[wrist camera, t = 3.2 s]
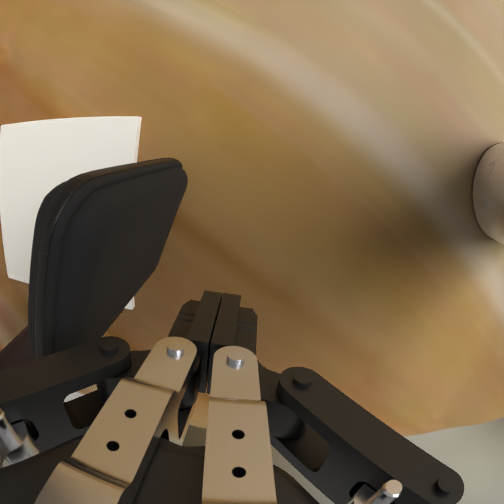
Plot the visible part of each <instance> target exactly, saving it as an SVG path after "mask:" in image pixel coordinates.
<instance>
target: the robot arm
mask: <svg viewBox="0 0 504 504" xmlns="http://www.w3.org/2000/svg"><path fill="white" fill-rule="evenodd" d="M473 205H474V212H475V215H476V218H477V222H478V223H479V225H480V227H481V229H482V230H483V231H484V233H485V234H486V235H487V236H489V237H491V238H492V239H494V240H496V241H498V242H499V243H501V244H503V245H504V143H498V144H496V145H494V146H492V147H491V148H490V149H489V150H487V151H486V152H485V154H484V155H483V157H482V158H481V160H480V162H479V165H478V167H477V170H476V174H475V178H474V184H473ZM240 300H241V295H234V294H227V293H224V294H223V297H222V293H220V292H213V291H207V290H205V291H204V293H203V296H202V299H201V301H195V300H190V301H188V302H187V303H185V304H184V305H182V308H181V310H180V312H179V314H178V316H177V319H176V320H175V322H174V324H173V327H172V329H171V331H170V333H169V335H168V337H167V338H163V339H161V340H159V341H158V342H157V343H156V344H155V346H154V347H153V349H152V350H148V351H130V346H129V344H128V343H127V342H126V341H125V340H123V339H121V338H118V337H112V336H108V337H102V338H98V339H96V340H93V341H90V342H87V343H84V344H81V345H78V346H75V347H72V348H69V349H66V350H63V351H60V352H57V353H54V354H50V355H47V356H44V357H41V358H38V359H35V360H32V361H29V362H25V363H22V364H19V365H16V366H13V367H9V368H6V369H3V370H0V504H319V503H318V502H317V501H316V500H315V499H314V498H313V497H312V496H311V495H310V494H309V493H308V492H307V491H306V490H305V489H304V488H303V487H302V486H301V485H300V484H299V483H298V482H297V481H296V480H295V479H294V478H293V477H292V476H290V475H289V474H288V473H287V472H285V471H284V470H282V469H281V468H279V467H277V466H275V465H273V463H272V454H271V445H272V446H273V447H274V448H276V450H278V452H279V453H280V454H281V455H282V456H283V457H284V458H285V459H287V460H288V461H289V462H290V463H291V464H292V465H293V466H294V467H295V468H296V469H297V470H298V471H299V472H300V473H301V474H302V475H303V476H304V477H305V478H306V479H308V480H309V481H310V482H311V483H312V484H313V485H314V486H315V487H316V488H318V489H319V490H320V491H321V492H322V493H323V494H324V495H325V496H327V497H328V498H329V499H330V500H331V501H332V502H334V503H335V504H456V503H457V502H459V501H460V499H461V498H462V496H463V493H464V483H463V481H462V479H461V477H460V476H459V474H458V473H457V472H455V471H454V470H452V469H451V468H449V467H448V466H446V465H445V464H443V463H442V462H440V461H438V460H437V459H435V458H434V457H432V456H431V455H429V454H428V453H426V452H425V451H423V450H422V449H420V448H419V447H417V446H416V445H415V444H413V443H412V442H410V441H409V440H407V439H406V438H404V437H403V436H402V435H400V434H399V433H397V432H396V431H394V430H393V429H392V428H390V427H389V426H387V425H386V424H385V423H383V422H382V421H380V420H379V419H378V418H376V417H375V416H373V415H372V414H371V413H369V412H368V411H367V410H365V409H364V408H362V407H361V406H360V405H358V404H357V403H356V402H354V401H353V400H352V399H350V398H349V397H348V396H346V395H345V394H344V393H342V392H341V391H340V390H338V389H337V388H336V387H334V386H333V385H332V384H330V383H329V382H328V381H327V380H325V379H324V378H323V377H321V376H320V375H319V374H318V373H316V372H315V371H313V370H310V369H308V368H304V367H292V368H288V369H286V370H284V371H283V372H282V373H281V374H279V373H276V372H273V371H271V370H268V369H266V368H265V367H263V366H262V365H261V364H260V363H259V362H258V360H257V358H256V334H257V315H256V314H255V312H254V311H253V309H250V308H243V307H240ZM207 383H208V387H207ZM94 384H97V388H98V390H96V391H94V392H91V393H89V394H86V395H84V396H81V397H79V398H76V399H74V400H71V401H68V402H64V399H65V398H66V396H68V395H69V394H71V393H74V392H76V391H79V390H81V389H84V388H87V387H89V386H92V385H94ZM206 387H207V393H208V394H210V399H209V410H208V422H207V435H206V446H198V447H197V446H196V447H184V446H181V445H182V442H183V440H184V437H185V434H186V431H187V428H188V426H189V423H190V420H191V417H192V414H193V411H194V408H195V402H196V399H197V395H198V392H201V393H205V392H206ZM270 444H271V445H270Z"/></svg>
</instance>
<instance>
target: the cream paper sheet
mask: <svg viewBox="0 0 504 504" xmlns="http://www.w3.org/2000/svg"><path fill="white" fill-rule="evenodd" d="M141 119H142V117H137V116H111V117H80V118H63V119H50V120H39V121H30V122H21V123H13V124H6V125H1V133H0V216H1V228H2V238H3V246H4V254H5V260H6V267H7V273H8V278H12V279H15V280H18V281H21V282H25V283H28V284H29V277H30V264H31V253H32V244H33V235H34V228H35V222H36V217H37V214H38V210H39V208H40V206H41V203H42V201H43V199H44V197H45V196H46V195H47V194H48V193H49V192H50V191H51V190H52V189H53V188H55V187H56V186H57V185H59V184H61V183H63V182H65V181H68V180H69V179H70V178H72V177H75V176H77V175H79V174H82V173H86V172H90V171H93V170H98V169H103V168H108V167H114V166H119V165H125V164H131V163H136V162H137V157H138V146H139V137H140V128H141ZM134 307H135V304H134V297H133V298H132V299H131V300H130V302H129V303H128V304H127V305H126V307H125V308H126V309H130V310H133V308H134Z"/></svg>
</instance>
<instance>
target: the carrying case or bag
mask: <svg viewBox="0 0 504 504" xmlns="http://www.w3.org/2000/svg"><path fill="white" fill-rule="evenodd" d="M187 180H188V179H187V175H186V173H185V171H184V170H183V169H182V164H181V162H179V160H177V159H174V158H161V159H155V160H148V161H142V162H136V163H131V164H125V165H119V166H114V167H108V168H103V169H98V170H93V171H90V172H86V173H82V174H79V175H77V176H75V177H72V178H70V179H69V180H68V181H65V182H63V183H61V184H59V185H57V186H56V187H55V188H53V189H52V190H51V191H50V192H49V193H48V194H47V195H46V196H45V197H44V199H43V201H42V203H41V206H40V208H39V210H38V214H37V217H36V222H35V228H34V235H33V244H32V253H31V264H30V277H29V301H28V331H29V339H30V342H31V345H32V349H33V354H34V357H35V359H38V358H41V357H44V356H47V355H50V354H54V353H57V352H60V351H63V350H66V349H69V348H72V347H75V346H78V345H81V344H84V343H87V342H90V341H93V340H96V339H98V338H101V337H102V336H103V335H104V333H105V332H106V331H107V329H108V328H109V327H110V326H111V324H112V323H113V322H114V321H115V319H116V318H117V317H118V316H119V314H120V313H121V312H122V311H123V309H124V308H125V307H126V305H127V304H128V303H129V302H130V300H131V299H132V298H133V297H134V295H135V294H136V293H137V292H138V290H139V289H140V288H141V287H142V285H143V284H144V283H145V282H146V280H147V279H148V278H149V277H150V275H151V274H152V273H153V271H154V270H155V268H156V266H157V264H158V262H159V259H160V257H161V254H162V251H163V248H164V245H165V243H166V240H167V237H168V234H169V232H170V229H171V226H172V224H173V221H174V218H175V216H176V213H177V210H178V208H179V205H180V203H181V200H182V198H183V195H184V193H185V190H186V187H187Z"/></svg>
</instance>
